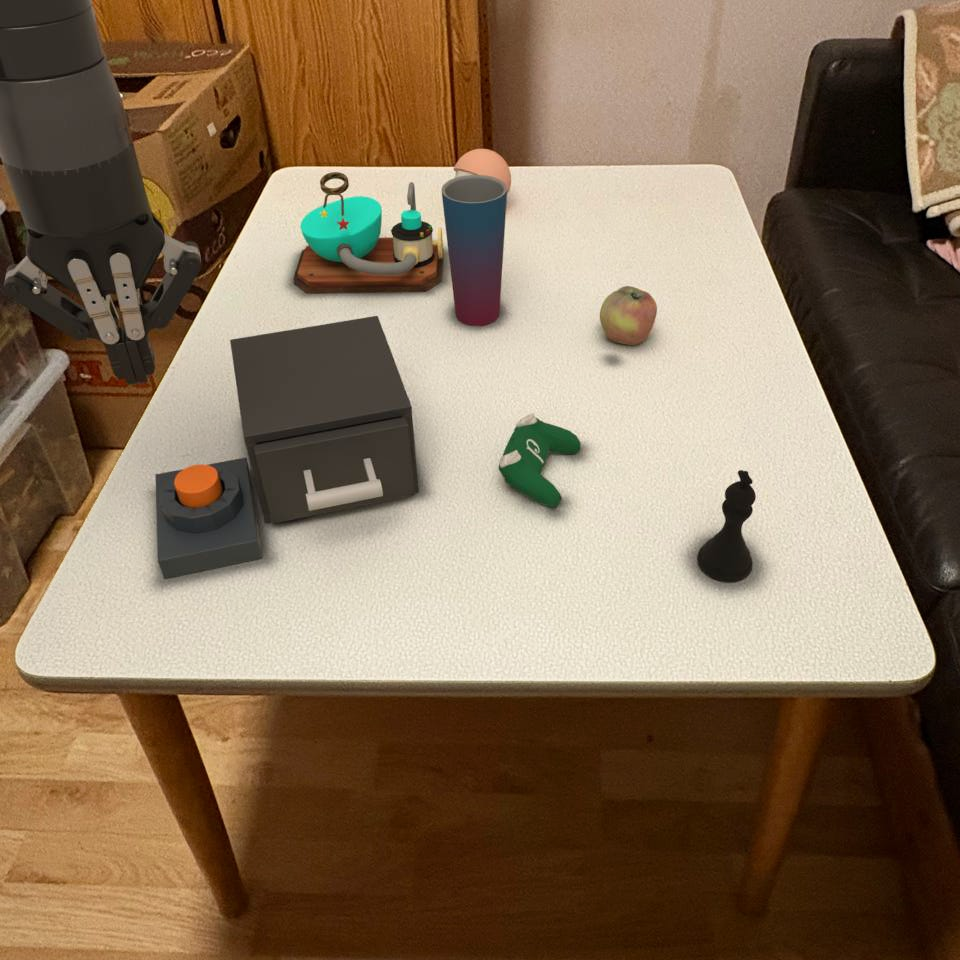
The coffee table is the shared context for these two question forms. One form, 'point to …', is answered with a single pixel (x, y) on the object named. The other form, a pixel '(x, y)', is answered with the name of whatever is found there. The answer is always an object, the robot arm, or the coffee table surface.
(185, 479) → the button
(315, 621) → the coffee table surface
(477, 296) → the cup
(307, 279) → the contraption on wooden base
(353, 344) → the drawer cabinet
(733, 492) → the chess piece
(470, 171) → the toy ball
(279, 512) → the dark box with handle
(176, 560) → the control block
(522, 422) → the gaming controller
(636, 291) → the apple
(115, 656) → the coffee table surface
